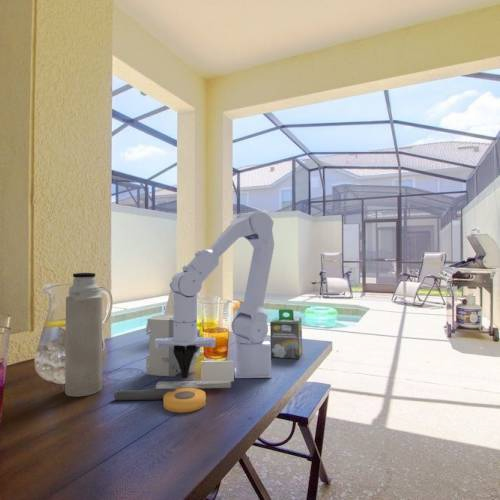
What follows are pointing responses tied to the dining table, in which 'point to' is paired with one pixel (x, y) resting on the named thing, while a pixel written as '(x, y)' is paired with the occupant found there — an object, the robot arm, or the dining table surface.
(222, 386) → the rail
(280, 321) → the chalk box
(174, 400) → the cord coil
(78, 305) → the thermos bottle
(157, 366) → the circuit breaker
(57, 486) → the dining table surface
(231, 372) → the panel
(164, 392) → the grey rounded rod
